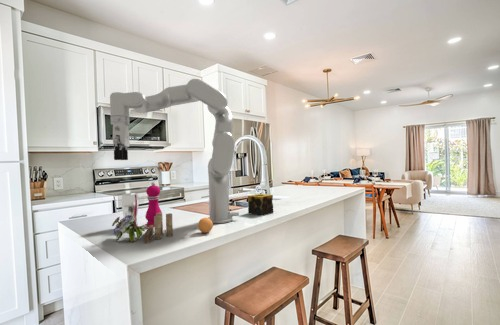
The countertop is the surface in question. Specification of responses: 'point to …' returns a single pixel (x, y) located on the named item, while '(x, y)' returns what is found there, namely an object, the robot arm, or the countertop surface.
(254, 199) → the dark textured cube
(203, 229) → the ball
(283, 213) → the countertop surface
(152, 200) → the pepper mill
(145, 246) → the countertop surface
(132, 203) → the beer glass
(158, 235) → the back pin left
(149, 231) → the wall
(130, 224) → the passion flower
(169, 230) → the front pin
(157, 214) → the back pin right
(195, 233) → the countertop surface
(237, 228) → the countertop surface
